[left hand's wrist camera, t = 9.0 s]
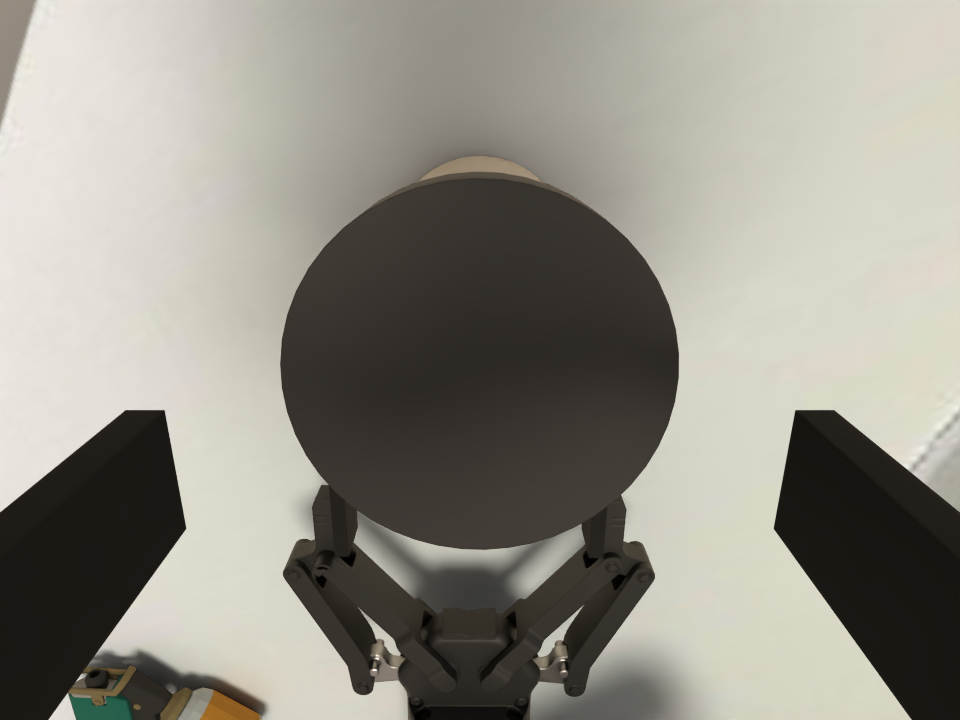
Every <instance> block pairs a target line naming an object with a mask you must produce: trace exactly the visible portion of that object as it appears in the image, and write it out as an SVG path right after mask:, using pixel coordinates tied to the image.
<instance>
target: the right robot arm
mask: <svg viewBox="0 0 960 720" xmlns="http://www.w3.org/2000/svg"><path fill="white" fill-rule="evenodd" d="M312 511H313V521H314V532H315V539H314V540H312V541H310V540H308V539H300V540H299V541H297V542H296V544H295V546H294V548H293V550H292V553H291V555H290V557H289V560H288V562H287V564H286V566H285V569H284V571H283V576H284V578H285V580H286V581H287V583H288V584H289V585H290V587H291V588H292V590H293V591H294V592H295V594H296V595H297V597H298V598H299V599H300V601H301V602H302V603H303V605H304V606H305V608H306V609H307V610H308V612H309V613H310V615H311V616H312V617H313V619H314V620H315V621H316V623H317V624H318V626H319V627H320V628H321V630H322V631H323V633H324V634H325V635H326V637H327V638H328V639H329V641H330V642H331V644H332V645H333V646H334V648H335V649H336V651H337V652H338V653H339V655H340V656H341V657H342V659H343V660H344V662H345V663H346V664H347V666H348V669H349V673H350V678H351V682H352V687H353V689H354V691H355V692H356V693H357V694H360V695H367V694H369V693H371V692H372V690H373V687H374V682H382V681H394V680H399V681H400V683H401V684H402V686H403V687H404V688H405V690H406V692H407V696H408V719H409V720H530V698H531V692H532V690H533V689H534V687H535V686H536V685H537V684H538V682H539V681H540V682H551V683H562V684H564V689H565V692H566V694H567V695H569V696H572V697H577V696H580V695H581V694H583V693H584V691H585V687H586V683H587V679H588V674H589V670H590V667H591V666H592V665H593V663H594V662H595V661H596V659H597V658H598V656H599V655H600V654H601V652H602V651H603V650H604V648H605V647H606V645H607V644H608V643H609V641H610V640H611V639H612V637H613V636H614V634H615V633H616V632H617V630H618V629H619V628H620V626H621V625H622V624H623V622H624V621H625V619H626V618H627V617H628V615H629V614H630V613H631V611H632V610H633V608H634V607H635V606H636V604H637V603H638V602H639V600H640V599H641V597H642V596H643V595H644V593H645V592H646V591H647V589H648V588H649V587H650V585H651V584H652V582H653V581H654V579H655V574H654V571H653V568H652V566H651V563H650V561H649V558H648V555H647V553H646V550H645V548H644V546H643V544H642V543H640V542H637V541H632V542H630V543H627V542H624V541H623V538H624V528H625V518H626V507H625V505H624V502H623V499H622V496H621V495H620V496H619V497H618V498H617V499H616V500H615V501H614V502H612V503H611V504H610V505H608V506H607V507H606V508H604V509H603V510H602V511H600V512H599V513H598V514H596V515H595V516H593V517H591V518H590V519H588V520H586V521H585V522H583V523H582V532H583V536H584V540H585V545H584V546H583V547H582V548H581V549H580V550H579V551H578V552H577V553H576V554H575V555H573V556H572V557H571V558H570V559H569V560H568V561H567V562H566V563H565V564H564V565H563V566H561V567H560V568H559V569H558V570H557V571H556V572H555V573H554V574H553V575H552V576H551V577H550V578H548V579H547V580H546V581H545V582H544V583H543V584H542V585H541V586H540V587H539V588H538V589H536V590H535V591H534V592H533V593H532V594H531V595H530V596H529V597H528V598H527V599H525V600H524V599H519V600H518V601H517V602H516V603H515V604H513V605H512V606H511V607H510V608H509V609H508V610H507V611H506V612H505V613H504V614H503V615H501V614H498V613H495V609H479V610H474V611H465V610H461V609H456V608H444V611H443V613H440V614H436V613H435V612H434V611H433V610H432V609H431V608H430V607H429V606H428V605H427V604H426V603H424V602H423V601H422V600H421V599H420V598H416V599H414V598H412V597H411V596H410V595H409V594H408V593H407V592H406V591H405V590H404V589H403V588H402V587H400V586H399V585H398V584H397V583H396V582H395V581H394V580H393V579H392V578H391V577H390V576H389V575H388V574H387V573H385V572H384V571H383V570H382V569H381V568H380V567H379V566H378V565H377V564H376V563H375V562H374V561H373V560H372V559H370V558H369V557H368V556H367V555H366V554H365V553H364V552H363V551H362V550H361V549H360V548H359V547H358V546H357V545H355V544H354V543H353V541H354V538H355V534H356V531H357V528H358V523H357V510H356V509H355V508H353V507H352V506H351V505H350V504H349V503H348V502H346V501H345V500H344V499H343V498H342V497H341V496H339V495H338V494H337V493H336V492H335V491H334V490H333V489H332V488H331V487H330V485H321V487H320V489H319V491H318V494H317V496H316V498H315V501H314V503H313V506H312ZM583 605H584V606H583ZM357 606H358V607H359V608H360V609H361V610H362V611H363V612H364V613H365V614H367V615H368V616H369V617H370V618H371V619H372V620H373V621H374V622H375V623H377V624H378V625H379V626H380V627H381V628H382V629H383V630H384V631H385V632H387V633H388V634H389V635H390V636H391V637H392V638H393V639H394V640H395V643H396V646H397V649H398V650H399V651H400V653H401V655H400V656H395V655H392V654H391V653H389V651H388V650H387V648H386V647H385V646H384V641H383V640H382V639H377V640H376V638H375V635H374V632H373V630H372V628H371V626H370V625H369V623H368V621H367V620H366V618H365V617H364V616H363V614H362V613H361V611H360V610H359V608H358V607H357ZM582 606H583V607H582ZM581 607H582V609H581V610H580V612H579V613H578V615H577V616H576V617H575V619H574V620H573V622H572V623H571V625H570V626H569V628H568V630H567V632H566V634H565V637H564V640H563V641H561V640H558V641H556V642H555V647H554V648H553V649H552V651H551V652H550V654H549V655H547V656H545V657H538V654H537V653H538V652H539V650H540V649H541V646H542V643H543V641H544V640H545V639H546V638H547V637H548V636H549V635H550V634H551V633H552V632H554V631H555V630H556V629H557V628H558V627H559V626H560V625H561V624H563V623H564V622H565V621H566V620H567V619H568V618H569V617H571V616H572V615H573V614H574V613H575V612H576V611H577V610H578V609H580V608H581Z"/></svg>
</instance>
